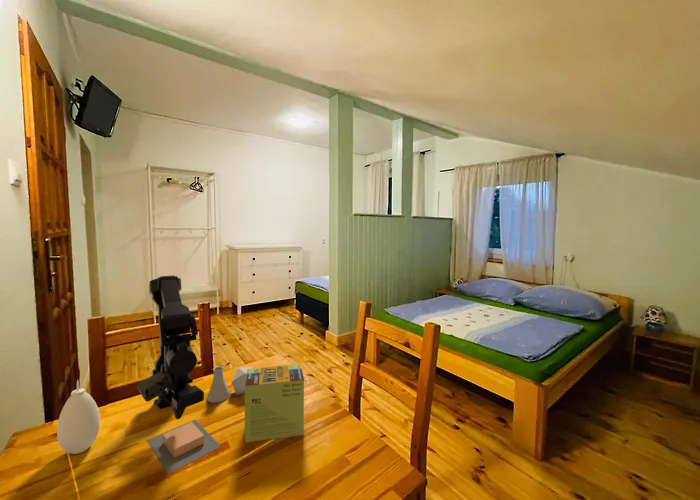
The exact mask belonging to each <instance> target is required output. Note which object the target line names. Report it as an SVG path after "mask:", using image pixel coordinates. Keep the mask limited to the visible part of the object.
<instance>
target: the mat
mask: <svg viewBox="0 0 700 500" xmlns="http://www.w3.org/2000/svg"><path fill="white" fill-rule="evenodd" d="M190 422H192V423H193V424H194V425H195V426H196V427H197V428H198V429H199V430H200V431H201V432H202V434H203V435H204V443H203V444H202V445H200V446H198V447H196V448H194V449H192V450H190V451H188V452H186V453H184V454H182V455H180V456H178V457H175V458H174V457H173V456H172V454H171V453H170V451H169V450H168V448H167V447H166V446H165V444H164V443H163V434H165V433H167V432H169V431H172V430H174V429H176V428H179V427H181V426H183V425H186V424H188V423H190ZM146 442H147V443H148V445H149V446H150V448H151V449H152V452H153V453H154V454H155V456H156V458H157V459H158V461H159V462H160V464H161V466H162V467H163V468H164V470H165V472H166V473H167V475H169V474H171V473H173V472H176V471H177V470H179V469H181V468H182V467H184V466H186V465H188V464H190V463H193V462H194V461H196V460H197V459H200V458H202V457H203V456H205V455H207V454H209V453H211V452H213V451H215V450H217V449H219V448H220V447H222V445H220V444H219V443H218V441H217V440H215V438H214V437H213V436H212V435H211V434H210V433H209V432H208V431H207V430H206V429H205V428H204V427H203V426H202V424H200V423H199V421H198V420H196V419H194V420H193V419H192V420H191V421H190V420H189V421H188V422H186V423H184V424H182V425H180V426H179V425H178V426H177V427H174V428H172V429H170V430H167V431H166V432H165V431H164V432H162V433H161V434H157V435H156V436H154V437H151V438H149V439H146Z"/></svg>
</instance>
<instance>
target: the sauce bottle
mask: <svg viewBox="0 0 700 500" xmlns="http://www.w3.org/2000/svg"><path fill="white" fill-rule="evenodd" d="M56 427H57V428H56V433H57V434H56V437H57V441H58V445H59V447H60V448H61V449H62V450H63V451H64V452H66V454H67V453H68V454H72V455H77V454H81V453H83V452H86V450H88V449H89V448H90V447H91V446H92V445H93V444H94V443H95V441H96V439H97V437H98V435H99V432H100V429H101V428H100V427H101V415H100V410H99V407H98V404H97V403H96V401H95V399H93V397H92V395H90V394H89V393H88V392H86V389H85V388H80V383H79V379H77V380H76V389H74V390H72V391H71V393H70V396H69V398H67V400H66V402H65V404H64V405H63V407H62V409H61V412H60V414H59V418H58V421H57V426H56Z"/></svg>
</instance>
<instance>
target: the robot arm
mask: <svg viewBox="0 0 700 500" xmlns="http://www.w3.org/2000/svg"><path fill="white" fill-rule="evenodd" d="M181 291H182V279H181V278H179V277H178V276H177V275H173V274H172V275H161V276H158V277H157V278H153V279H152V280H150V281H149V283H148V292H149V295H151V299H152V301H153V302H154V303H155V305H156V306H157V311H158V314H157V315H158V335H159V339H158V340H159V354H158V356H157V358H156V360H155V361H154V369H152V372H151V376H150V377H148V378H146V379H145V380H143V381H140V382H139V383H138V384H137V385H136V388H137V390H138V392H139V393H140V396H141V397H142V398H143V399H144V401H145V402H150V401H152V400H153V399H154V400H153V403H154V404H155V405H156V406H157V407H158V409H160V410H163V409H165V408H167V407H170V406H171V409H172V412H173V415H174V417H175V418H174V419H176V420H179V419H181V418H182V416H183V414H184V412H185V410H186V408H188V407H192V406H193V405H196V404H199V403H200V402H203V401H204V400H205V391H204V390H203V389H201V388H200V387H199V386H197V385H196V384H194V385H191V383H193V382H194V381H193V380H194V379H193V377H192V376H191V372H192V371H194V369H195V368H196V366H197V363H198V357H197V355H196V354H195V352H194V350H193V348H192V347H191V341H192V342H193V341H197V336H198V333H199V330H198V326H197V321H196V320H197V319H196V318H195V317H194V314H192V313H191V311H190V308H189V307H188V306H187V305H185V304H183V303H182V298H181V295H180V292H181ZM156 398H157V399H156Z"/></svg>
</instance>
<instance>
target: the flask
mask: <svg viewBox="0 0 700 500" xmlns="http://www.w3.org/2000/svg"><path fill="white" fill-rule="evenodd" d="M224 369H225V367H224V366H220V365H219V366H218V365H217V366H215V367H214V368H212V371H213V378H212V382H211V386H210V388H209V391H208V394H207V396H206V400H205V401H207V402H209V403H211V404H212V403H214V404H215V403H222V402H224V401H226V400H227V399H229V398H230V396H231V390H230V389H229V386H228V385H227V383H226V380H225V378H224Z"/></svg>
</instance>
